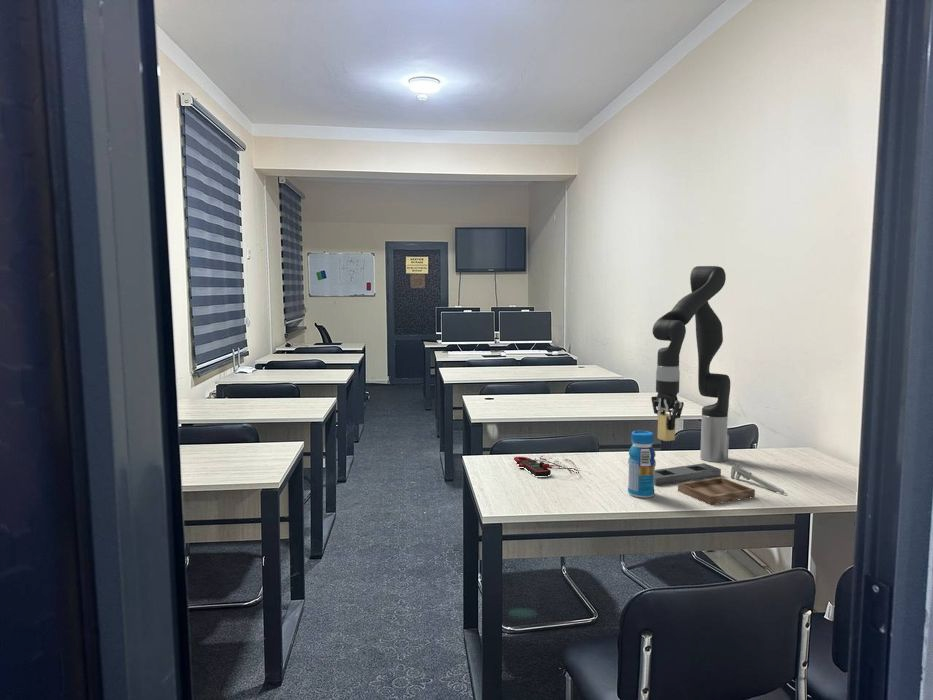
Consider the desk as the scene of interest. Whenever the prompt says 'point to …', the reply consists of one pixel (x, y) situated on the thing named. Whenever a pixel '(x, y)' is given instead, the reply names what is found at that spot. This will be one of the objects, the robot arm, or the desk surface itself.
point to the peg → (664, 428)
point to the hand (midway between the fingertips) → (666, 428)
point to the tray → (715, 490)
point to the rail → (685, 473)
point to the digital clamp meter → (538, 466)
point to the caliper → (752, 477)
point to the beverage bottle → (641, 465)
